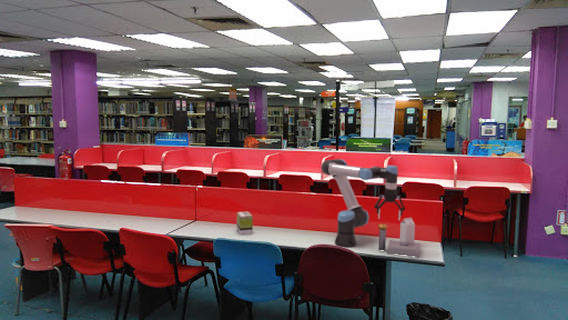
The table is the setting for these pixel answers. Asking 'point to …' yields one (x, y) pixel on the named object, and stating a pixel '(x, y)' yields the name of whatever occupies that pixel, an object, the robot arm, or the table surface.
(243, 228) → the tea box
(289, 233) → the table surface
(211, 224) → the table surface
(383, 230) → the grey orange-topped cylinder
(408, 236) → the milk carton
